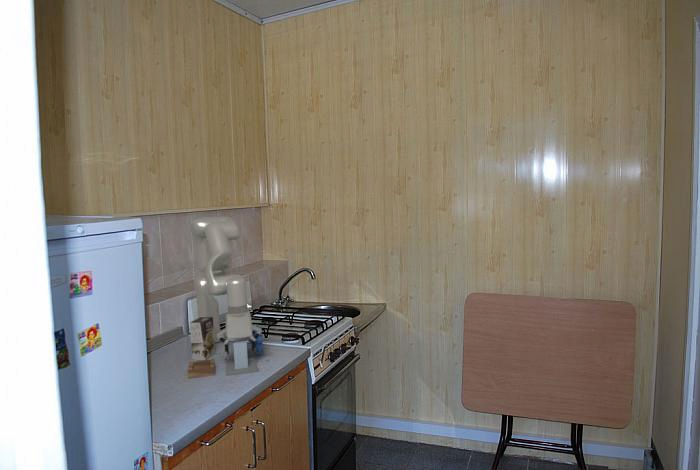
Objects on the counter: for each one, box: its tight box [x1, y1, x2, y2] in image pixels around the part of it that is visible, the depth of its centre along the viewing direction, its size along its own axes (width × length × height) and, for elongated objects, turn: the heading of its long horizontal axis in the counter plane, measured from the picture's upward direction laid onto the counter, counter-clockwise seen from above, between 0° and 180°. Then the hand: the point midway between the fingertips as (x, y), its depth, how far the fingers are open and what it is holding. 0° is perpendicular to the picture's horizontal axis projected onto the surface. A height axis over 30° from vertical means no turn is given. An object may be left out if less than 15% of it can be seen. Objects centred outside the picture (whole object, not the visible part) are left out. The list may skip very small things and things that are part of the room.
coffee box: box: [189, 317, 216, 361], centre depth 203 cm, size 9×6×16 cm
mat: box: [225, 357, 259, 377], centre depth 189 cm, size 14×12×1 cm
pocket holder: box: [187, 358, 216, 380], centre depth 185 cm, size 10×10×3 cm
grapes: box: [248, 324, 265, 356], centre depth 204 cm, size 12×7×12 cm, turn 12°
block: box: [232, 338, 248, 369], centre depth 188 cm, size 5×5×10 cm
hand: (240, 351), depth 188 cm, fingers open, 9 cm apart
